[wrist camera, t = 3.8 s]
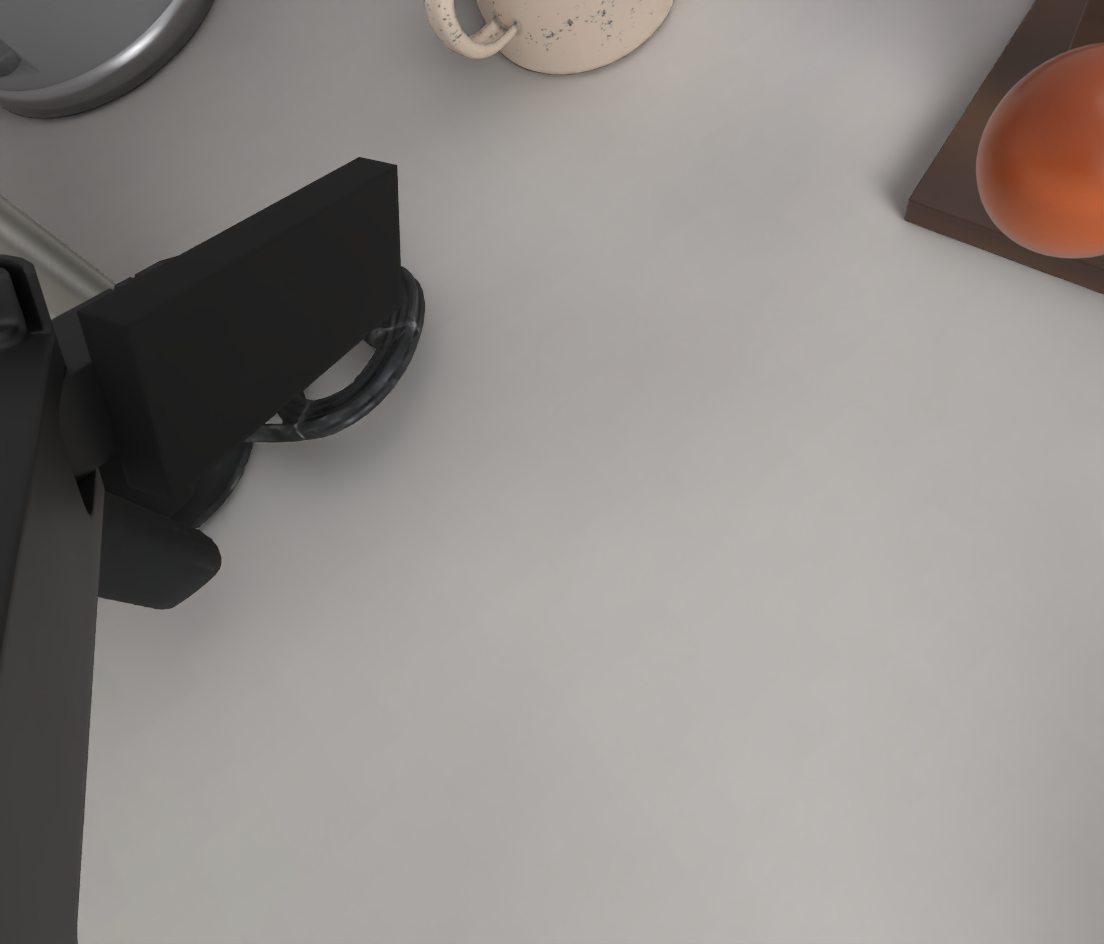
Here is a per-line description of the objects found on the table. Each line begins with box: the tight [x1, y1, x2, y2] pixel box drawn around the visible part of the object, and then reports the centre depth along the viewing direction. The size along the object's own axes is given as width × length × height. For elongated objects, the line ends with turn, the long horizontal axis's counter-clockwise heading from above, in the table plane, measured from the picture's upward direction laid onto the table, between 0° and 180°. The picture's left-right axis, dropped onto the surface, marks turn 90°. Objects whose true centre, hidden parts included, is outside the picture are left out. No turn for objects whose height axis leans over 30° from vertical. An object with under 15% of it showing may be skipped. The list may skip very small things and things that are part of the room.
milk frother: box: [0, 195, 425, 610], centre depth 28 cm, size 14×16×15 cm
